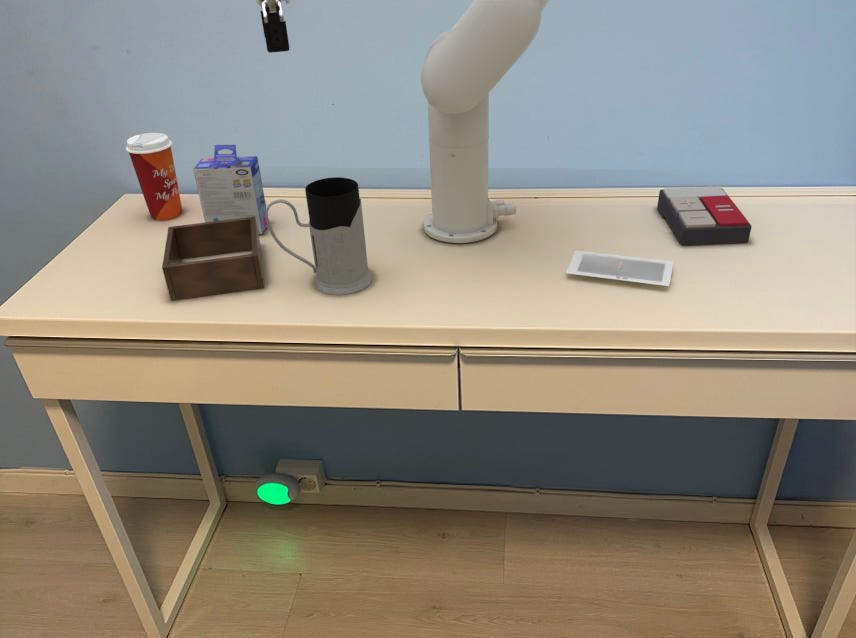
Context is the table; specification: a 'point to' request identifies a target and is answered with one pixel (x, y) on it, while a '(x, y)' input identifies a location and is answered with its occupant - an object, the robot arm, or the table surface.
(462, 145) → the robot arm
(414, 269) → the table surface
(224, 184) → the ink cartridge box
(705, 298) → the table surface
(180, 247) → the desk bin
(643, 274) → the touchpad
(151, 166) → the paper cup
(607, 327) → the table surface
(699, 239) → the calculator
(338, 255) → the glass holder
